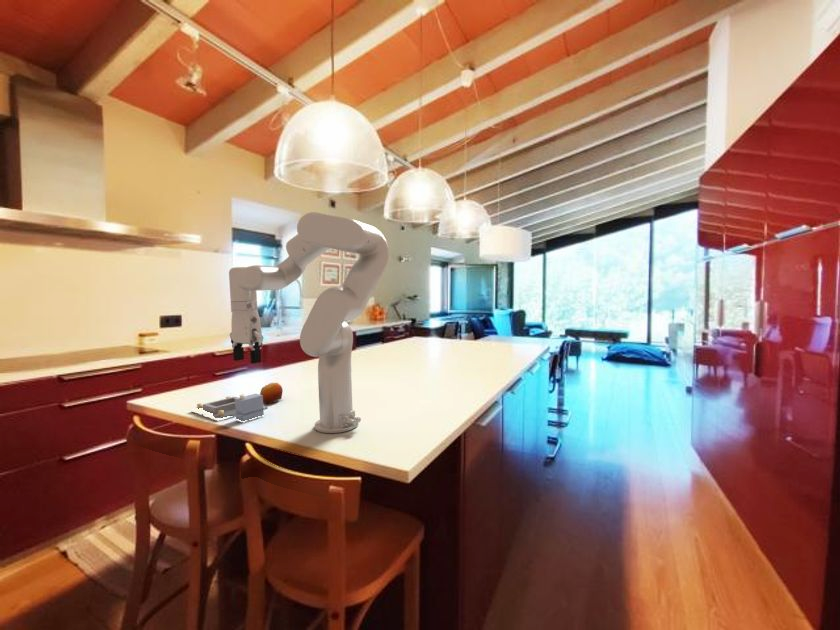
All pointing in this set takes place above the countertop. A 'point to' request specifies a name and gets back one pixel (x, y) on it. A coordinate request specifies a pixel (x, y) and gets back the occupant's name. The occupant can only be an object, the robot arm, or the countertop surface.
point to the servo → (249, 407)
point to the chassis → (220, 407)
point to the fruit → (271, 392)
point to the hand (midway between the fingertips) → (247, 361)
